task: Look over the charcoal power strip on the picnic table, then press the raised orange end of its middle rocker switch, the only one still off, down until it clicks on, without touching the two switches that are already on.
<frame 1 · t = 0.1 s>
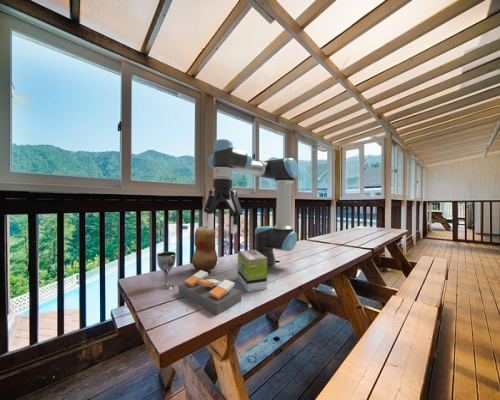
hand: (221, 231, 85), 28 cm above the table, tool pointing down, fingers open, 13 cm apart
switch 2: (222, 289, 80), point 6 cm above the table, hinge at 15.0°
tea box: (251, 284, 100), on the table
switch 1: (196, 278, 90), point 6 cm above the table, hinge at 15.0°
switch middle: (209, 283, 86), point 6 cm above the table, hinge at -15.0°
butternut squash: (204, 271, 115), on the table
wine glass: (166, 286, 95), on the table
power strip: (209, 297, 86), on the table
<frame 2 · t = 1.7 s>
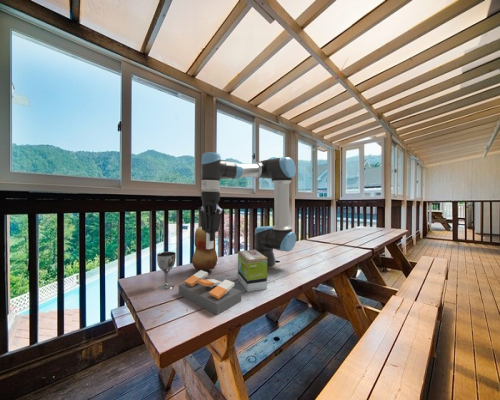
hand: (209, 248, 85), 20 cm above the table, tool pointing down, fingers closed
nothing on the table moved.
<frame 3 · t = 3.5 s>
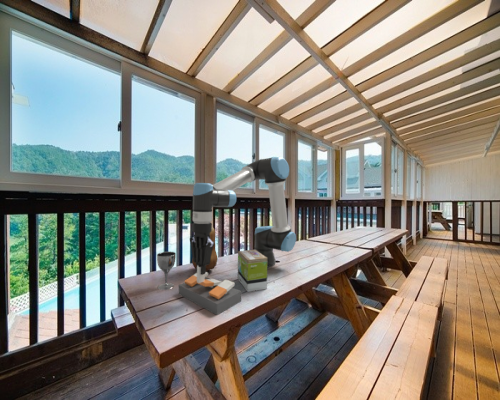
hand: (200, 281, 82), 8 cm above the table, tool pointing down, fingers closed
switch middle: (209, 283, 86), point 6 cm above the table, hinge at -14.0°, touching gripper
everything else where it was.
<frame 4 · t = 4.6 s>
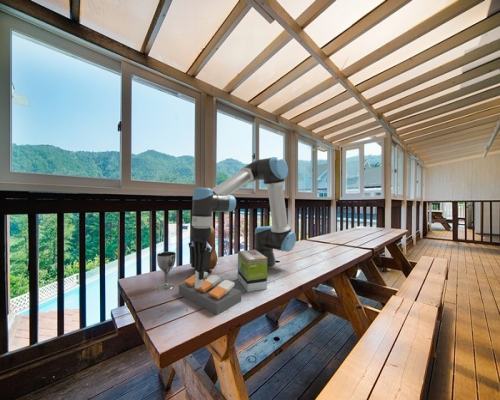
hand: (198, 286, 81), 6 cm above the table, tool pointing down, fingers closed
switch middle: (208, 283, 85), point 6 cm above the table, hinge at 14.5°, touching gripper
everything else where it was.
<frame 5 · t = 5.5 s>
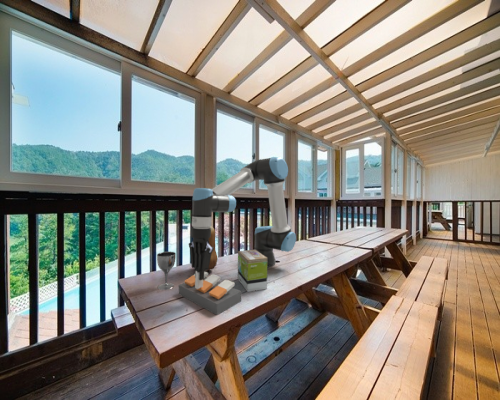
hand: (199, 287, 82), 6 cm above the table, tool pointing down, fingers closed
switch middle: (208, 283, 85), point 6 cm above the table, hinge at 18.2°, touching gripper
everything else where it was.
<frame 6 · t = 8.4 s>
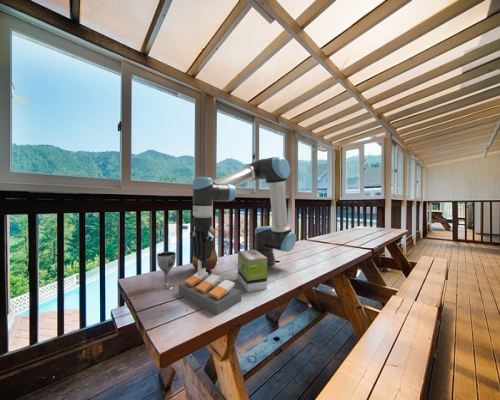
hand: (201, 275, 82), 10 cm above the table, tool pointing down, fingers closed
switch middle: (208, 283, 85), point 6 cm above the table, hinge at 18.6°
everything else where it was.
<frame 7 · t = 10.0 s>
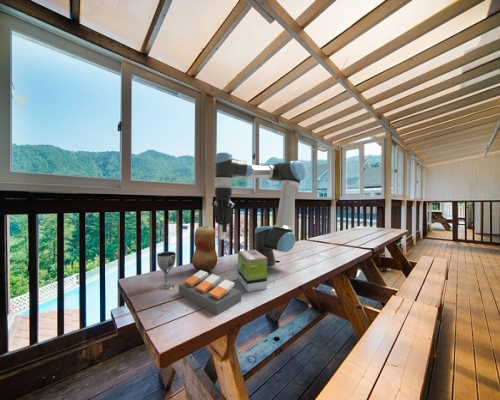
hand: (222, 238, 95), 22 cm above the table, tool pointing down, fingers closed
nothing on the table moved.
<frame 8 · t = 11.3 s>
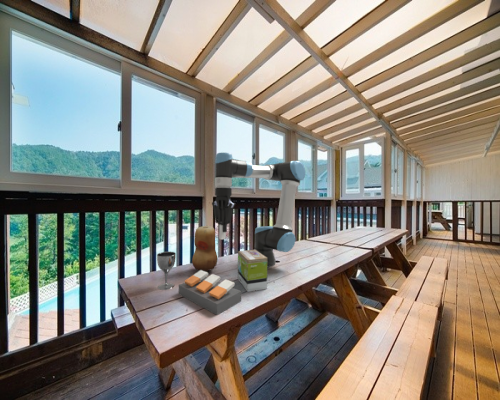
hand: (222, 238, 95), 22 cm above the table, tool pointing down, fingers closed
nothing on the table moved.
at the end: switch middle at +19° (first picture: -15°); switch 1 at +15° (first picture: +15°); switch 2 at +15° (first picture: +15°) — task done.
